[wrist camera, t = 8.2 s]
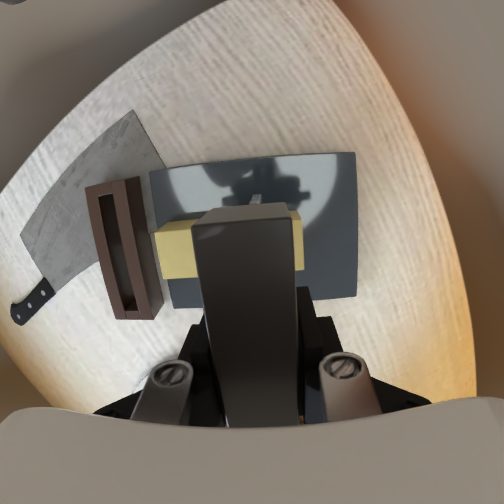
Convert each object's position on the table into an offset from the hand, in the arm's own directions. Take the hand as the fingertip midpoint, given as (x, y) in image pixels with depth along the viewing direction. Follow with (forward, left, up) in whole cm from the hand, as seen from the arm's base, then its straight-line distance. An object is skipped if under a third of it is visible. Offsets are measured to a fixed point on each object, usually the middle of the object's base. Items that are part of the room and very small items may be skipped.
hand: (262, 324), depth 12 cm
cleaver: (-21, +1, -14) cm, 25 cm away
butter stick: (-4, 0, -13) cm, 13 cm away
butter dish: (-1, 0, -13) cm, 13 cm away
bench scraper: (0, 0, -4) cm, 4 cm away
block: (-12, 0, -13) cm, 18 cm away
